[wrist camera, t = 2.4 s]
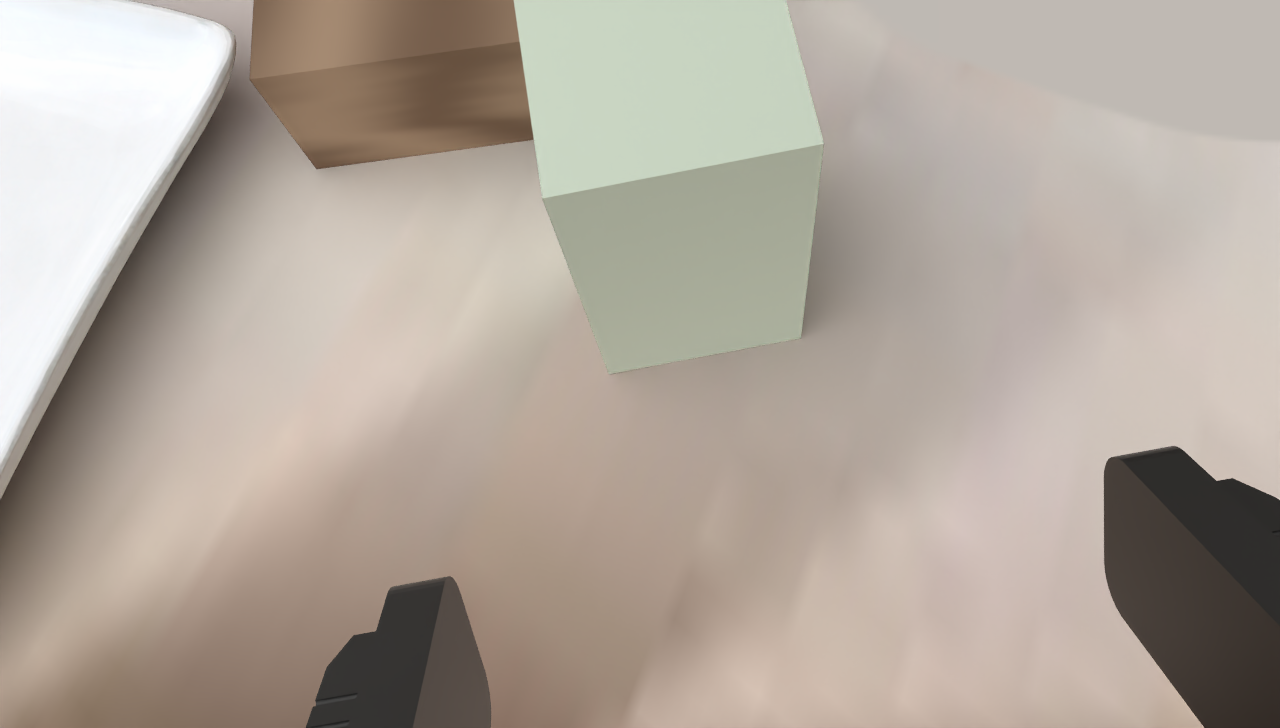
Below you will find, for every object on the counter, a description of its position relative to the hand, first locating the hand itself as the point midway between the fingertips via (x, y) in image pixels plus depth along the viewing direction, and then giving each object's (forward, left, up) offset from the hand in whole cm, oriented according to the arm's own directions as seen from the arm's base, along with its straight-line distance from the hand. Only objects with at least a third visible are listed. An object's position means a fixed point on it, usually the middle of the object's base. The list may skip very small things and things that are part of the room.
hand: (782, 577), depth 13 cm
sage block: (0, -11, -14) cm, 18 cm away
